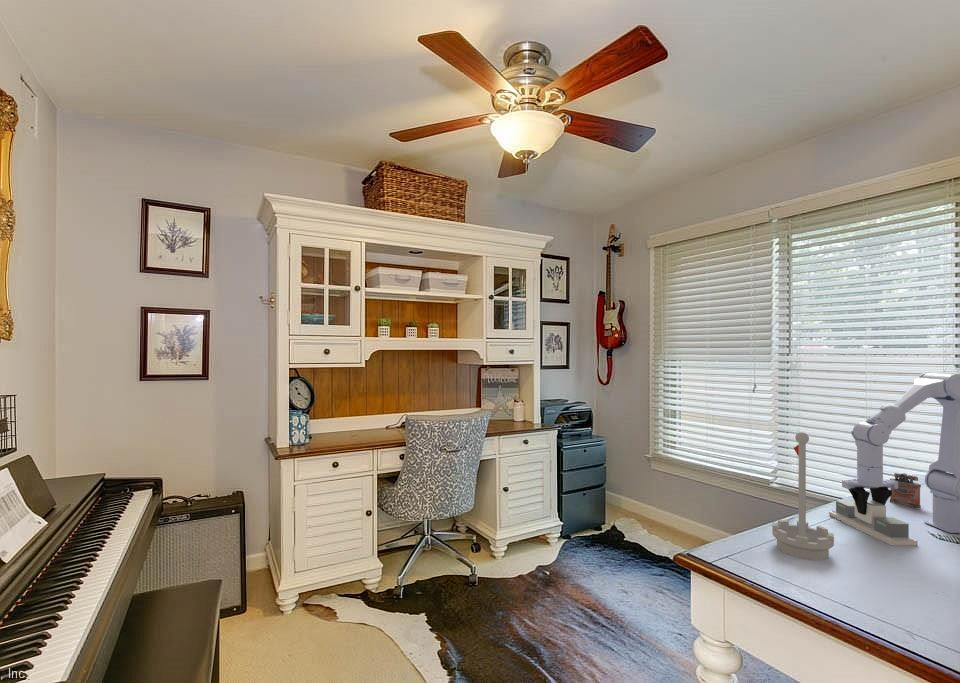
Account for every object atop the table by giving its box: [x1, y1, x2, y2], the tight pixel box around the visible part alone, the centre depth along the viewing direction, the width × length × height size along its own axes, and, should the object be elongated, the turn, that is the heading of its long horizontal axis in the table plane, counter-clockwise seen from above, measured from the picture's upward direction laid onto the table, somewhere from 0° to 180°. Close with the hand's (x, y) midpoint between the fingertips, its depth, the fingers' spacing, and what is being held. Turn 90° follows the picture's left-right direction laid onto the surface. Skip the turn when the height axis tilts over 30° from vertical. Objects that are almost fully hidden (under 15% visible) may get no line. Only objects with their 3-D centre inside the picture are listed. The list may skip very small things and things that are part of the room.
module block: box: [855, 497, 887, 524], centre depth 137 cm, size 4×6×5 cm, turn 1°
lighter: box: [889, 472, 922, 510], centre depth 158 cm, size 8×3×10 cm, turn 25°
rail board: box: [828, 499, 918, 546], centre depth 138 cm, size 7×22×5 cm, turn 1°
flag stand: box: [771, 431, 835, 561], centre depth 124 cm, size 13×13×30 cm
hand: (869, 513), depth 138 cm, fingers closed on module block, 4 cm apart
